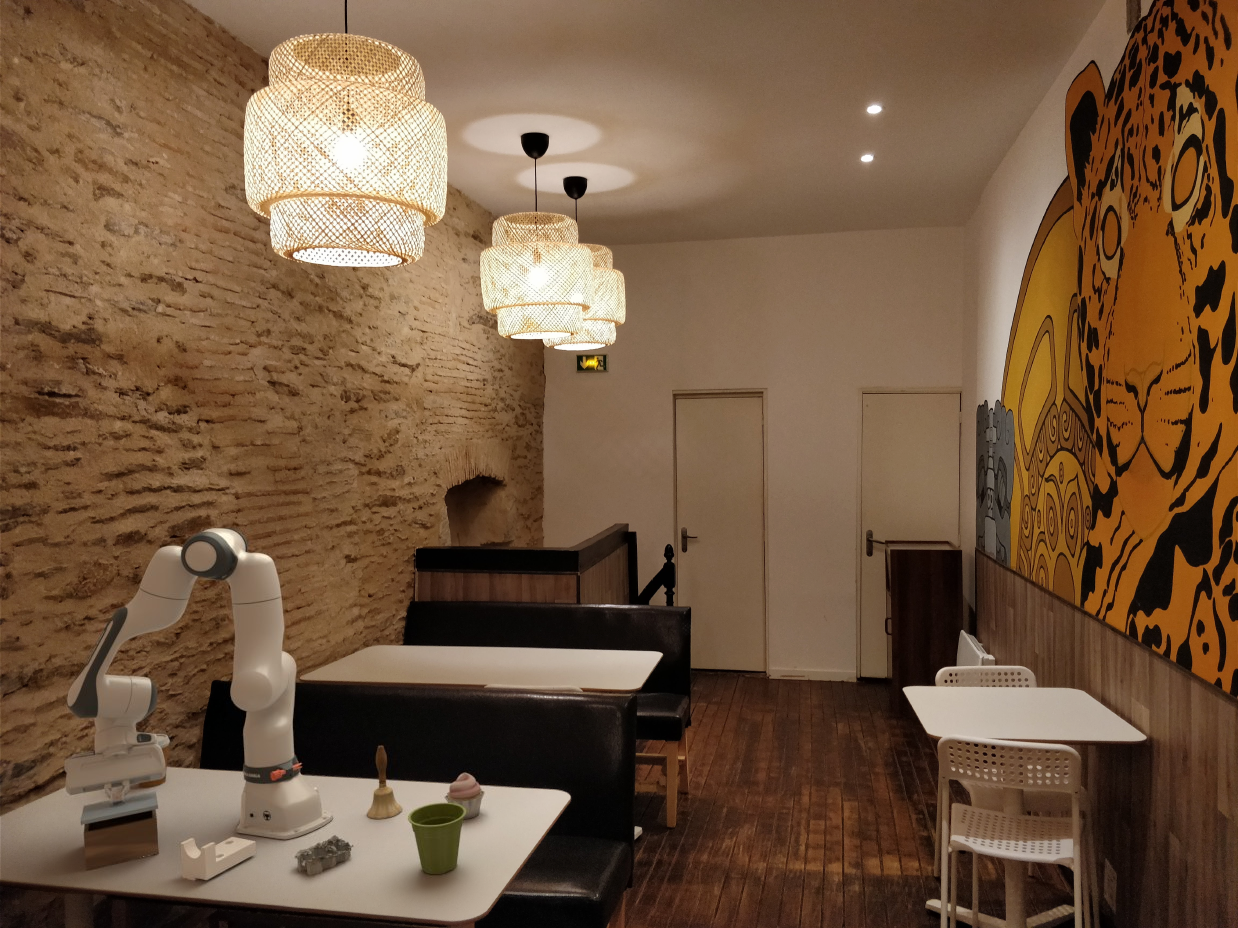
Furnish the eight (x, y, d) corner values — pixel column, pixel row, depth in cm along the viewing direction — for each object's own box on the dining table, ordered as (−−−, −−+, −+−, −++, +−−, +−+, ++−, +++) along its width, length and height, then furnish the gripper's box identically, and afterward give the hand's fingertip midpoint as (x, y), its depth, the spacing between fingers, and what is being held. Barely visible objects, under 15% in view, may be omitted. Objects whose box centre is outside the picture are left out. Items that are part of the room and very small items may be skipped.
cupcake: (459, 825, 211) (457, 782, 211) (438, 814, 218) (436, 773, 218) (493, 813, 217) (491, 771, 217) (472, 803, 224) (470, 762, 224)
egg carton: (311, 878, 189) (310, 859, 189) (292, 868, 194) (291, 849, 194) (356, 858, 197) (355, 839, 197) (337, 849, 202) (336, 831, 202)
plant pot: (417, 885, 183) (414, 829, 182) (405, 862, 194) (403, 809, 193) (475, 872, 187) (472, 817, 187) (461, 849, 198) (458, 797, 198)
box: (88, 843, 211) (85, 808, 211) (156, 828, 218) (154, 795, 218) (86, 870, 197) (83, 833, 197) (158, 853, 204) (156, 817, 204)
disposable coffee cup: (179, 779, 251) (176, 736, 250) (145, 791, 243) (142, 746, 242) (159, 774, 256) (156, 731, 256) (125, 786, 248) (122, 741, 247)
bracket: (206, 884, 188) (204, 847, 188) (182, 878, 191) (180, 842, 191) (256, 857, 200) (254, 822, 200) (233, 852, 203) (231, 818, 203)
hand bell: (359, 814, 220) (355, 748, 220) (387, 802, 227) (383, 738, 227) (381, 821, 215) (377, 754, 215) (409, 809, 222) (405, 744, 222)
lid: (83, 808, 211) (83, 805, 211) (155, 794, 218) (155, 790, 218) (80, 824, 196) (80, 820, 197) (158, 808, 204) (157, 804, 204)
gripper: (63, 748, 209) (62, 806, 200) (163, 733, 218) (167, 787, 210) (65, 762, 213) (64, 819, 205) (164, 746, 222) (167, 799, 214)
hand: (117, 802), depth 207 cm, fingers closed
